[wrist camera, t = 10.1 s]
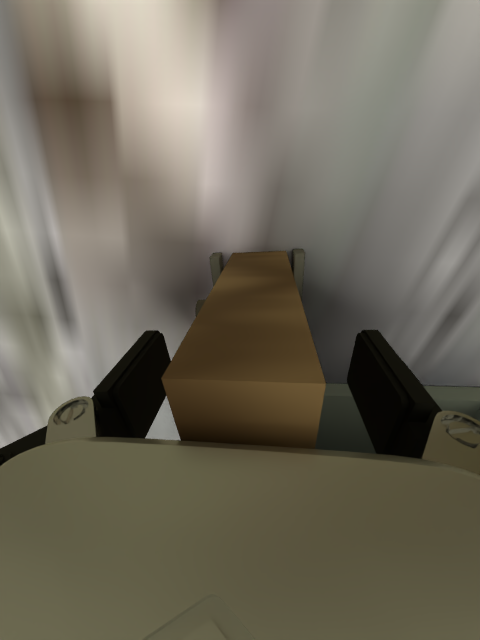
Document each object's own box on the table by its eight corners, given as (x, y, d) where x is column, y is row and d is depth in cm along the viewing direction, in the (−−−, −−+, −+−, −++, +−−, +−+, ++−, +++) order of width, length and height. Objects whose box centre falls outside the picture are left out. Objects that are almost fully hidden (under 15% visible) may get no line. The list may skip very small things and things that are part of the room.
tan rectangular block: (285, 250, 12) (326, 384, 4) (282, 362, 16) (297, 551, 8) (219, 253, 13) (121, 377, 4) (230, 361, 17) (191, 538, 8)
